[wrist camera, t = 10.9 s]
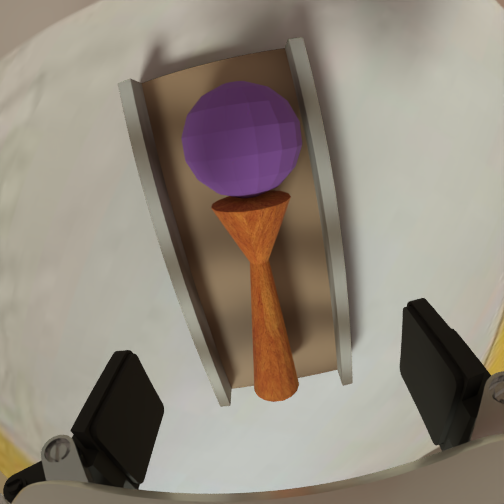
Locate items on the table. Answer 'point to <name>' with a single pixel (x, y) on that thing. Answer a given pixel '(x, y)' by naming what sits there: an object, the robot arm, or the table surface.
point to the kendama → (250, 202)
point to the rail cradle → (220, 241)
